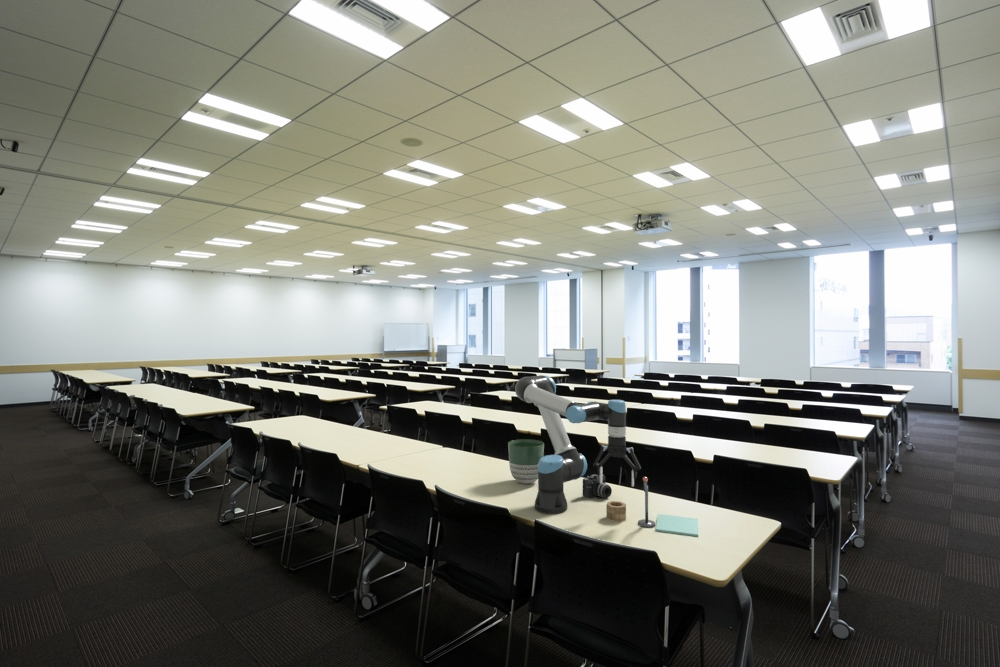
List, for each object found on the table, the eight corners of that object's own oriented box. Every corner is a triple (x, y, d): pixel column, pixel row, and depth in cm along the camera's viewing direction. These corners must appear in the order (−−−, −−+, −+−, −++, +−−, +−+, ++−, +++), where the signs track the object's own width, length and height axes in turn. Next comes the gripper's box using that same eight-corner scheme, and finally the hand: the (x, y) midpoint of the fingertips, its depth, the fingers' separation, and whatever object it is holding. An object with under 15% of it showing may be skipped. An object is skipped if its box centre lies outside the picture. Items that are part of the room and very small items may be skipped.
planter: (506, 478, 275) (506, 439, 275) (540, 476, 277) (540, 438, 277) (510, 488, 256) (510, 447, 256) (547, 487, 258) (547, 446, 258)
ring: (605, 520, 212) (605, 506, 212) (608, 513, 219) (608, 500, 219) (624, 522, 209) (624, 508, 209) (626, 515, 216) (626, 502, 216)
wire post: (636, 529, 201) (636, 476, 201) (638, 520, 211) (638, 470, 211) (654, 531, 199) (654, 478, 199) (655, 522, 208) (655, 471, 209)
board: (655, 531, 199) (655, 529, 199) (658, 515, 216) (658, 513, 216) (698, 536, 194) (698, 534, 194) (697, 520, 210) (697, 518, 210)
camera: (597, 502, 234) (596, 481, 234) (580, 496, 243) (580, 476, 243) (616, 496, 243) (616, 476, 243) (599, 491, 251) (599, 471, 251)
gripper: (586, 435, 215) (586, 483, 215) (646, 439, 207) (646, 489, 207) (589, 432, 222) (589, 478, 222) (647, 435, 214) (646, 484, 214)
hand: (616, 484), depth 214 cm, fingers open, 13 cm apart
